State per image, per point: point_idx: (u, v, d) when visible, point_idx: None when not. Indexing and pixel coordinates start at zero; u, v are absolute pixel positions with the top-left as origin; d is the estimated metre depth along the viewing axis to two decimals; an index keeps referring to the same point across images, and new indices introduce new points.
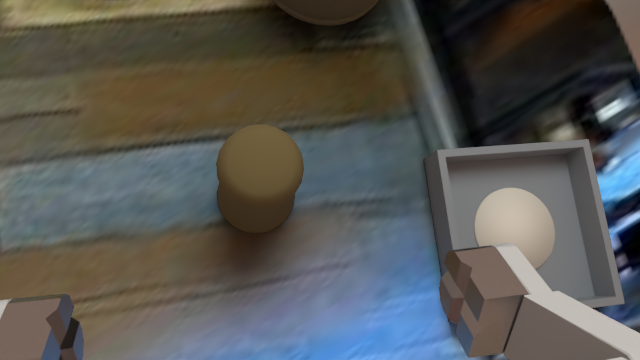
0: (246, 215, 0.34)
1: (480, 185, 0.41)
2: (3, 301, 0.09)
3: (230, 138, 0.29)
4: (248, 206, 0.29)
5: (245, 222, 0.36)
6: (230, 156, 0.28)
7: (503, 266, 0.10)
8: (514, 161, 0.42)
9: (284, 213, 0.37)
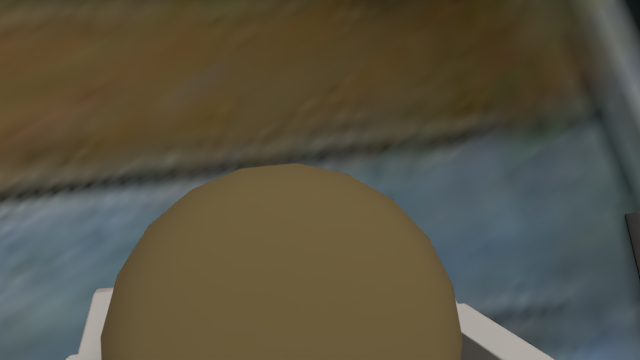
0: None
1: None
2: None
3: (156, 231, 0.07)
4: None
5: None
6: (148, 330, 0.06)
7: None
8: None
9: None
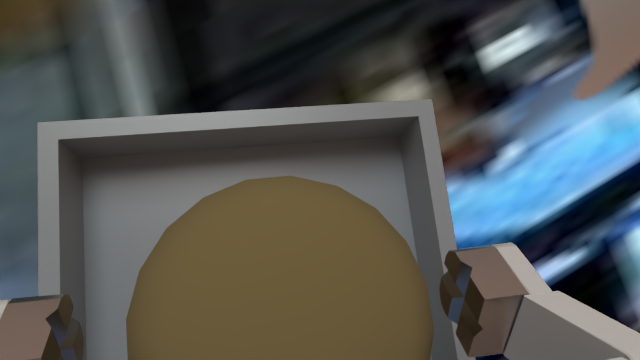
0: None
1: (191, 205, 0.18)
2: (3, 301, 0.09)
3: (174, 233, 0.08)
4: None
5: None
6: (169, 315, 0.07)
7: (503, 266, 0.10)
8: (278, 151, 0.19)
9: None
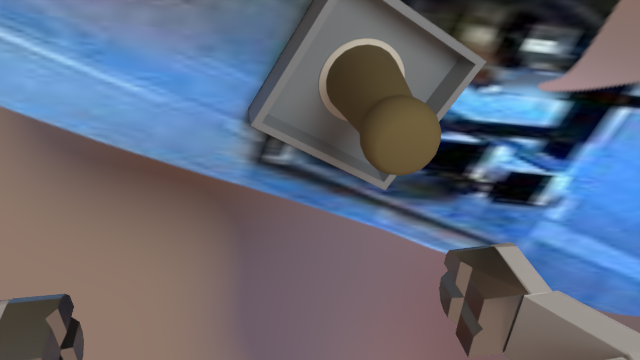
0: (351, 124, 0.36)
1: (367, 24, 0.37)
2: (3, 301, 0.09)
3: (401, 112, 0.30)
4: (368, 161, 0.32)
5: None
6: (390, 130, 0.30)
7: (503, 266, 0.10)
8: (416, 26, 0.38)
9: None
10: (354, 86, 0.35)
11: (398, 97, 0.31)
